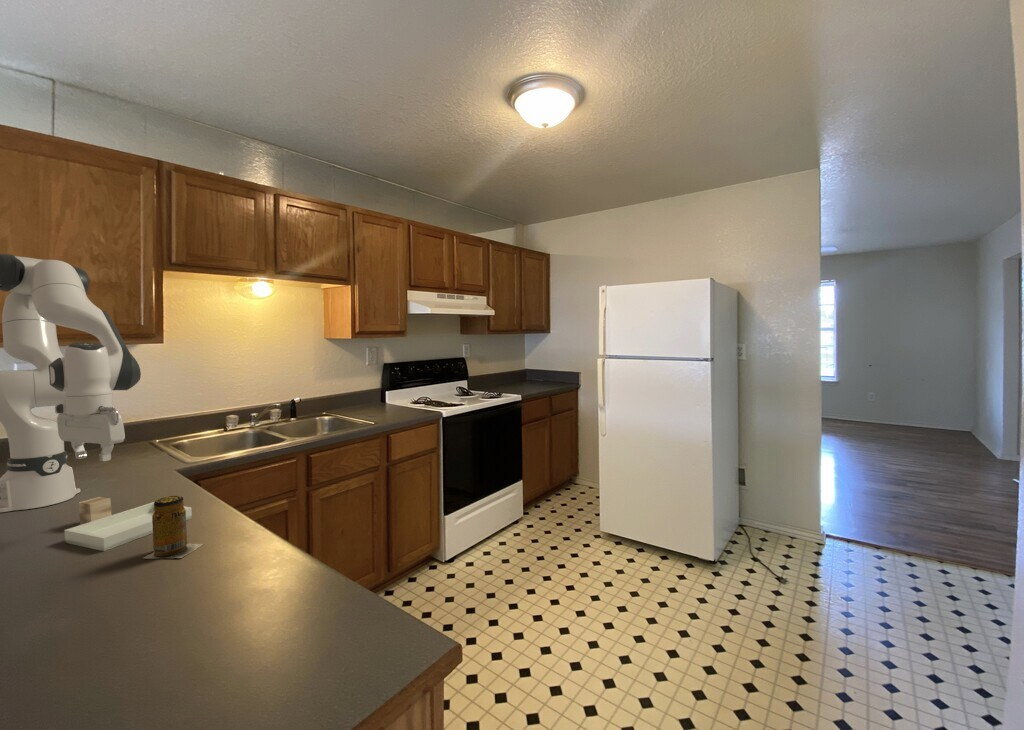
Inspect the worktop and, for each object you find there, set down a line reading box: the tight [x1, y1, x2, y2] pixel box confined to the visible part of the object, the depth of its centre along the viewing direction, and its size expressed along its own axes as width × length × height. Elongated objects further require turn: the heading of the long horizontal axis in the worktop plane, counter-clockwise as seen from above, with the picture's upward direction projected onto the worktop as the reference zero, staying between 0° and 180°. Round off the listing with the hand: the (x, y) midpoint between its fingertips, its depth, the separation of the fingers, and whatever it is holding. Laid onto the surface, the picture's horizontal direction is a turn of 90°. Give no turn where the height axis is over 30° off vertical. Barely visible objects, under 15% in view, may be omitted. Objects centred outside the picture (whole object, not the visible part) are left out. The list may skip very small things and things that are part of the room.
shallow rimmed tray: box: [64, 501, 193, 552], centre depth 115 cm, size 14×20×3 cm
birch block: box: [78, 496, 112, 525], centre depth 119 cm, size 4×4×6 cm
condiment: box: [143, 495, 204, 560], centre depth 103 cm, size 7×8×12 cm
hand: (93, 459), depth 118 cm, fingers open, 8 cm apart
